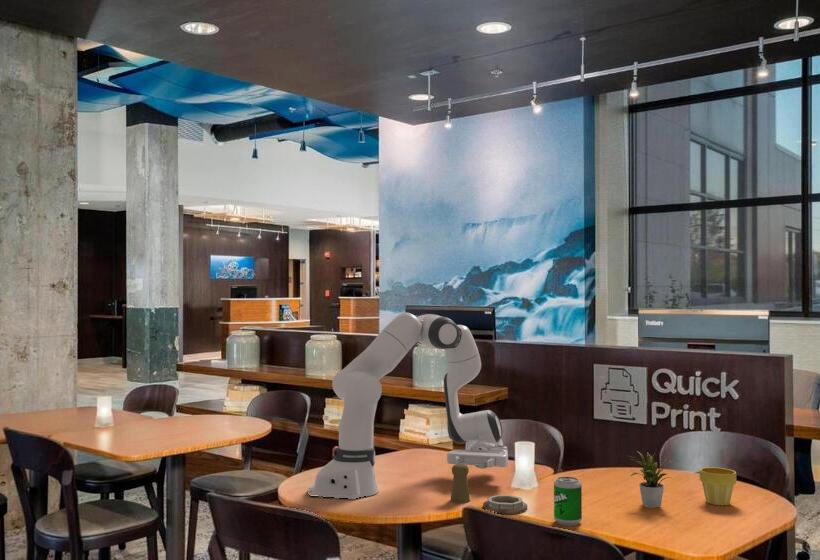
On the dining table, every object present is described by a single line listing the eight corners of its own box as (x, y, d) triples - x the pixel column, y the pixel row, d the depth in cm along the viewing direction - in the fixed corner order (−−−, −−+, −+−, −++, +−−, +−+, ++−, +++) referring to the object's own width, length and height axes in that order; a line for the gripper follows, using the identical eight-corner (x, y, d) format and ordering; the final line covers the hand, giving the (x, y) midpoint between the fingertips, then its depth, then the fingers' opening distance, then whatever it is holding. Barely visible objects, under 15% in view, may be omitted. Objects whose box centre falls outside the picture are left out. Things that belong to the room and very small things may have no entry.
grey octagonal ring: (484, 514, 219) (484, 505, 219) (481, 502, 232) (481, 493, 232) (529, 514, 218) (529, 505, 218) (524, 502, 231) (524, 494, 231)
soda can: (577, 518, 214) (577, 475, 215) (584, 526, 207) (584, 482, 207) (551, 518, 214) (551, 475, 214) (557, 526, 207) (557, 482, 207)
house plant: (613, 501, 233) (613, 447, 233) (651, 496, 238) (650, 444, 238) (643, 513, 219) (643, 456, 220) (682, 508, 224) (681, 453, 225)
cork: (468, 503, 230) (468, 467, 230) (449, 502, 231) (448, 466, 231) (471, 498, 236) (471, 462, 236) (451, 497, 237) (451, 462, 237)
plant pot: (718, 497, 237) (718, 465, 238) (744, 505, 228) (744, 472, 228) (692, 500, 234) (692, 468, 234) (717, 508, 224) (716, 475, 224)
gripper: (453, 443, 262) (440, 451, 249) (511, 446, 255) (502, 455, 242) (453, 462, 262) (441, 471, 249) (512, 465, 255) (502, 475, 242)
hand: (471, 463), depth 245 cm, fingers open, 8 cm apart
